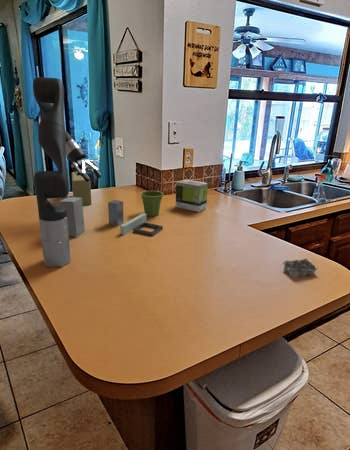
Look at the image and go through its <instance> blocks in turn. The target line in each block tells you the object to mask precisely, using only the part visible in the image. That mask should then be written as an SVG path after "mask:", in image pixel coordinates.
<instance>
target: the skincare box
mask: <svg viewBox="0 0 350 450" xmlns="http://www.w3.org/2000/svg"><path fill="white" fill-rule="evenodd" d="M59 205H60V206H63V207H64V208H66V211H67V222H68V235H69V237H71V238H74V237H75V238H78V237H79V236H80V235H81V234H84V232H85V221H84V210H83V209H84V208H83V206H82V198H78V197H73V196H67V197H65V198H62V200H60V201H59Z"/></svg>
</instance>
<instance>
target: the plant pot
mask: <svg viewBox="0 0 350 450" xmlns="http://www.w3.org/2000/svg"><path fill="white" fill-rule="evenodd" d="M140 195H141V196H140V197H141V199H142V204H143V210H144V214H147V216H148V217H154V216H158V215H159V214H160V209H161V202H162V198H163V195H164V193H163V192H162V191H159V190H144V191H141V192H140Z"/></svg>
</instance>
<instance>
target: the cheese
mask: <svg viewBox="0 0 350 450" xmlns="http://www.w3.org/2000/svg"><path fill="white" fill-rule="evenodd" d="M91 186H92V185H91V180H90V181H89V182H86V181H85V180H84V178H83V177H82V176H80V175H79V176H77V175H76V173H75V172H74V171H73V172H71V191H72V197H78V198H82V207H83V206H91V205H92V188H91Z"/></svg>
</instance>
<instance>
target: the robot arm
mask: <svg viewBox="0 0 350 450" xmlns="http://www.w3.org/2000/svg"><path fill="white" fill-rule="evenodd" d="M32 93H33V97H34V100H35V101H36V104H37V105H38V107H39V108H40V111H41V114H42V115H41V116H42V118H41V119H40V121H39V123H38V126H37V127H38V130H37V131H38V132H37V134H38V143H39V145H40V147H41V148H42V150H43V151H44V153H46V154H47V156H48V157H49V159H51V160H52V161H53V164H54V165H55V167H56V169H57V170H39V171H36V172H35V173H34V176H33V185H34V191H35V196H36V204H37V210H38V211H37V212H38V219H39V221H38V222H39V228H40V229H39V231H40V239H41V247H42V249H41V250H42V258H43V263H44V267H50V268H51V267H52V268H53V267H54V268H56V267H57V268H58V267H59V268H60V267H61V268H62V267H64V266H65V265H67V264H69V263H70V262H71V250H70V249H71V248H70V239H69V238H70V236H69V235H68V222H67V211H66V208H64V207H63V206H60V204H56V203H55V202H54V203H53V202H51V201H50V200H51V199H66V198H68V197H69V196H68V195H69V193H70V182H69V181H70V179H69V173H68V163H67V159H68V161H70V163H71V164H70V168H71V169H72V171H73V172H75V173H76V175H77V176H79V175H80V176H82V177H83V178H84V180H85V181H86V182H89V181H90V182H91V178H90V176H88V174H87V173H86V171H87V170H88V171H89V172H90V171H91V172H92V173H93V174H94V175H95V176H96V178H97V179H101V178H102V173H100V171H99V168H100V166H99V165H98V164H97V162H95V160H94V158H90V159H88V158H87V154H86V153H85V152H84V150H83V149H82V148H81V147H80V145H79V144H78V143H77V142H76V141H75V140H74V139H73V137H72V136H71V135H70V133H69V132H68V131H66V124H65V110H64V109H65V87H64V84H63V82H62V80H61V79H60V78H55V77H46V76H45V77H43V76H38V77H35V78H34V79H33V81H32ZM49 199H50V200H49Z"/></svg>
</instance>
